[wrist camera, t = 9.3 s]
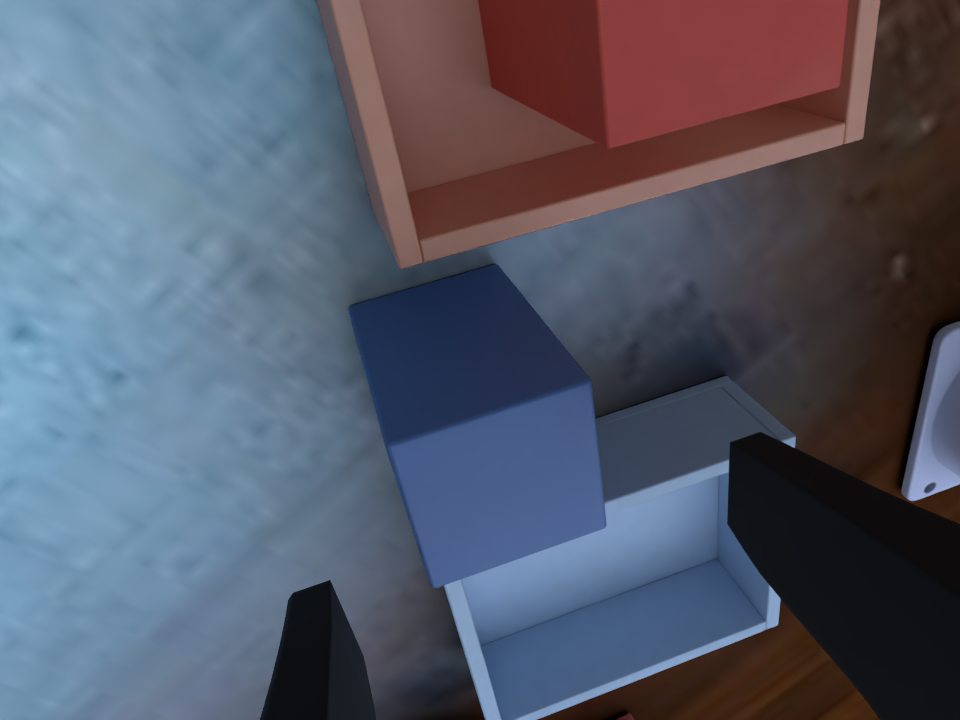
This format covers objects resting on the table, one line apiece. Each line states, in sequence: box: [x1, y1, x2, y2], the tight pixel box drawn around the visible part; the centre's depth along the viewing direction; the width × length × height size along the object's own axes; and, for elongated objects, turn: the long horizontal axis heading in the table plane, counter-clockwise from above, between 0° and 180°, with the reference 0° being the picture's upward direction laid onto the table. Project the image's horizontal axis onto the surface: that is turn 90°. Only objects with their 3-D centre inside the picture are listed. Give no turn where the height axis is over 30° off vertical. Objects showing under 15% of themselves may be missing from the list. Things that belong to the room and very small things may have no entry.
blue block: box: [348, 265, 607, 588], centre depth 16 cm, size 4×4×6 cm
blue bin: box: [444, 376, 796, 720], centre depth 22 cm, size 10×8×3 cm
